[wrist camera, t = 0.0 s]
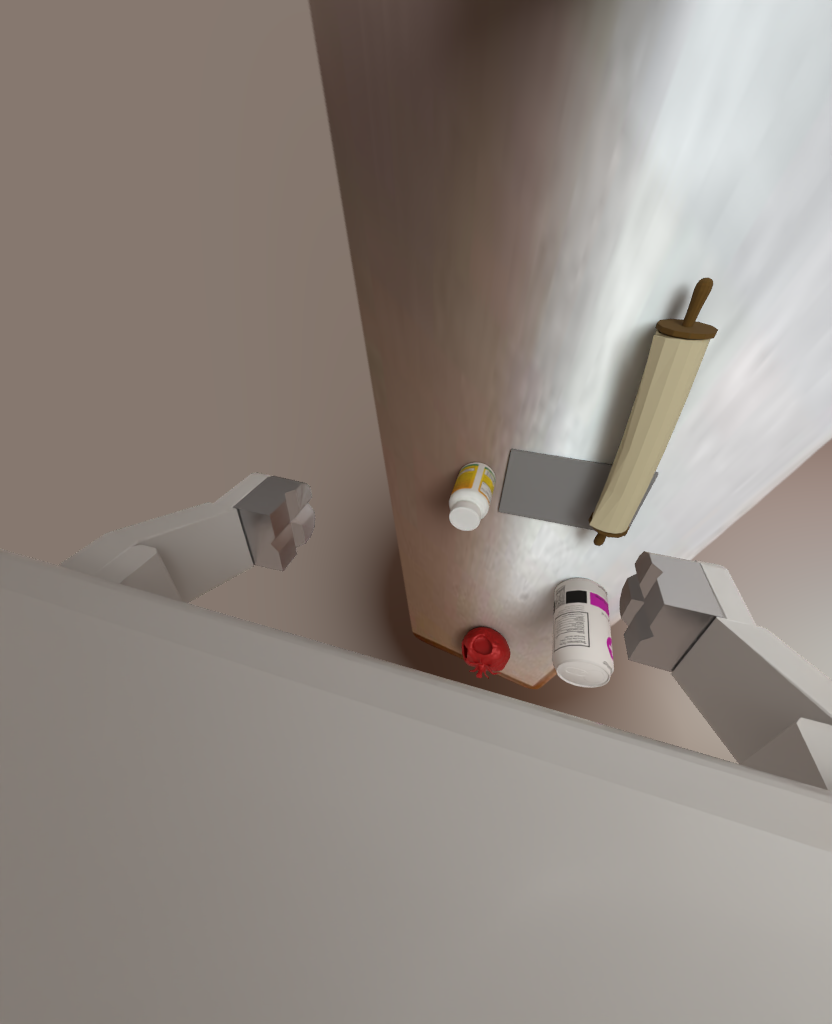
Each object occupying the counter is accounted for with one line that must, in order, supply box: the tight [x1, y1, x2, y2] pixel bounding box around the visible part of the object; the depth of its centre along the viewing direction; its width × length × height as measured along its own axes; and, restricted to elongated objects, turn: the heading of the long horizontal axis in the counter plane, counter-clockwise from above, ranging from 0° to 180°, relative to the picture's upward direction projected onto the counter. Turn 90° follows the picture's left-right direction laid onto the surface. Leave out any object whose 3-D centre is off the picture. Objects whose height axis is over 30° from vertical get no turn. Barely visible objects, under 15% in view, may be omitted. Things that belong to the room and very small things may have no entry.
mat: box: [499, 449, 658, 536], centre depth 53 cm, size 11×18×1 cm, turn 90°
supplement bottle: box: [449, 462, 496, 531], centre depth 52 cm, size 5×5×10 cm
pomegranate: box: [462, 627, 510, 678], centre depth 79 cm, size 10×10×9 cm
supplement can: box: [552, 578, 614, 687], centre depth 60 cm, size 8×8×15 cm
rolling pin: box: [588, 278, 718, 546], centre depth 43 cm, size 32×6×5 cm, turn 1°
